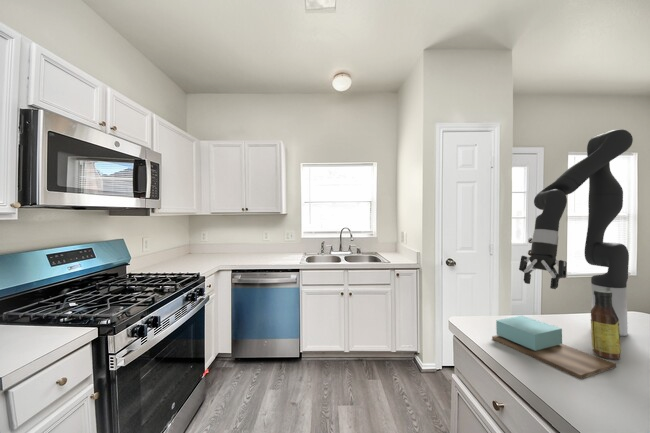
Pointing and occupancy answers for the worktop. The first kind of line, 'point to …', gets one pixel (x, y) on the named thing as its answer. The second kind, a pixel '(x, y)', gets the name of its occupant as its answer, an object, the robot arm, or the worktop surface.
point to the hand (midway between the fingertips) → (539, 286)
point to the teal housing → (529, 332)
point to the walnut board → (564, 358)
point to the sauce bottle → (605, 326)
